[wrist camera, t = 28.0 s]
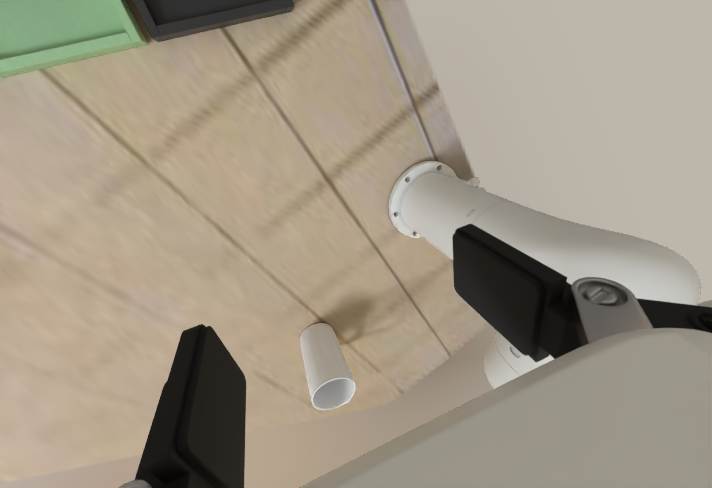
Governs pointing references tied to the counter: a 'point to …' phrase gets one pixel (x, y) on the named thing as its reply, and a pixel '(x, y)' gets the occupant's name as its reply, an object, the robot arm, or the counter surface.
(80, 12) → the pale tray
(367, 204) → the counter surface
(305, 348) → the mug
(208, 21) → the dark tray
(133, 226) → the counter surface
